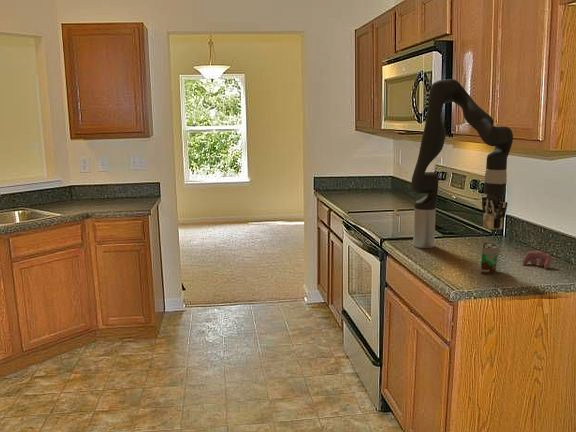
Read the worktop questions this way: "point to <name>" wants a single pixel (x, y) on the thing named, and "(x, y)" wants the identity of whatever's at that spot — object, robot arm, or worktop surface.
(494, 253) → the food container
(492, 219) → the birch cube
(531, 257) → the pink toy figure
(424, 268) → the worktop surface
